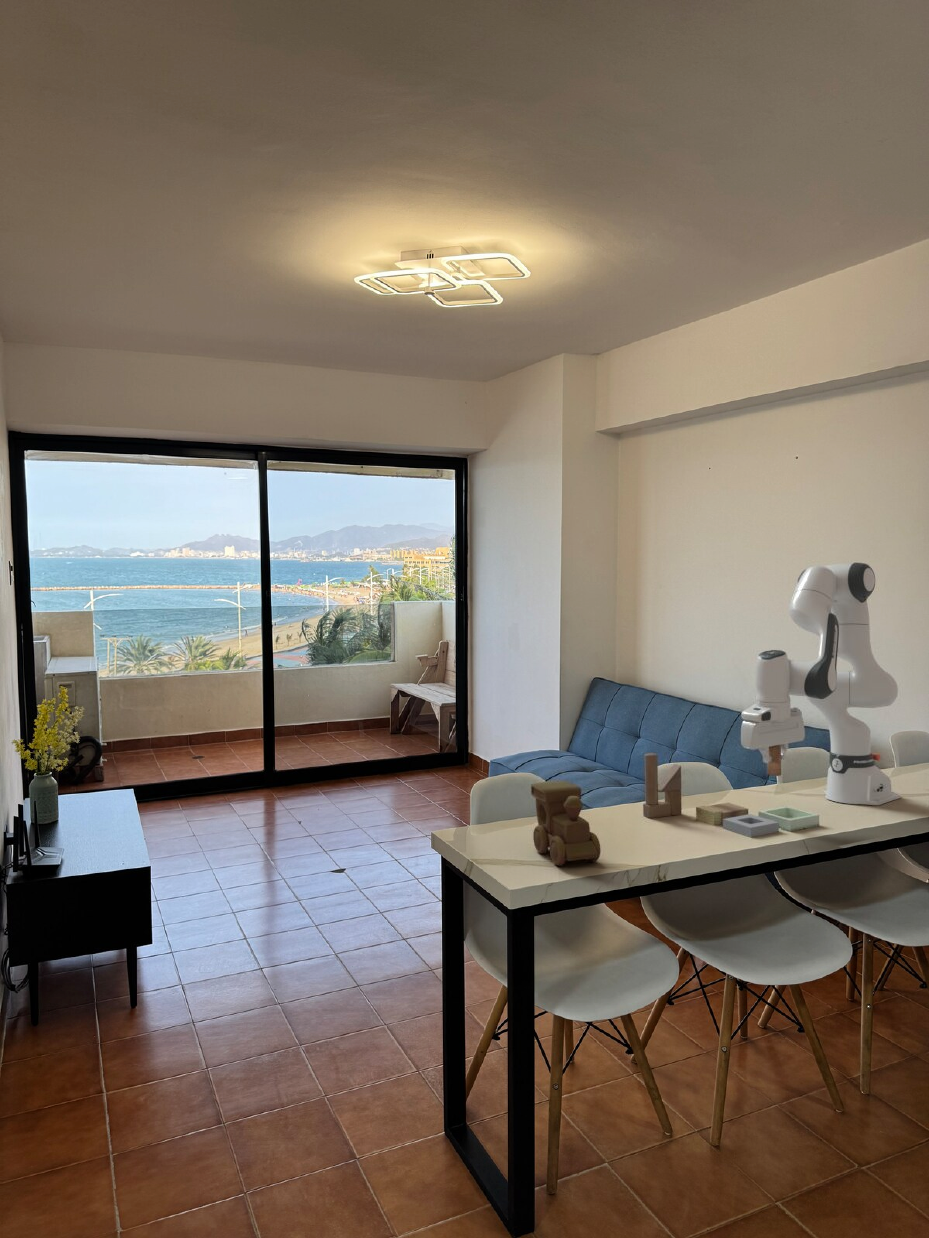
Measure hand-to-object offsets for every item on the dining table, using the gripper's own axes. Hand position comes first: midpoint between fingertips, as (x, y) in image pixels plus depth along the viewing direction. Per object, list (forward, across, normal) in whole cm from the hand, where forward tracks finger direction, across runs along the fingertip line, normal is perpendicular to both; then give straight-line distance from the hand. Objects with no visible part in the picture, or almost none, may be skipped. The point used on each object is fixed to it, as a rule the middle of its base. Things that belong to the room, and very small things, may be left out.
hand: (774, 761), depth 232 cm
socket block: (+17, +9, 0) cm, 20 cm away
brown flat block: (+18, +7, -12) cm, 23 cm away
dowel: (+4, 0, 0) cm, 4 cm away
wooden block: (+18, +20, -24) cm, 35 cm away
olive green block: (+18, +13, -12) cm, 25 cm away
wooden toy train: (+16, +64, -5) cm, 66 cm away
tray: (+18, -4, +1) cm, 18 cm away
